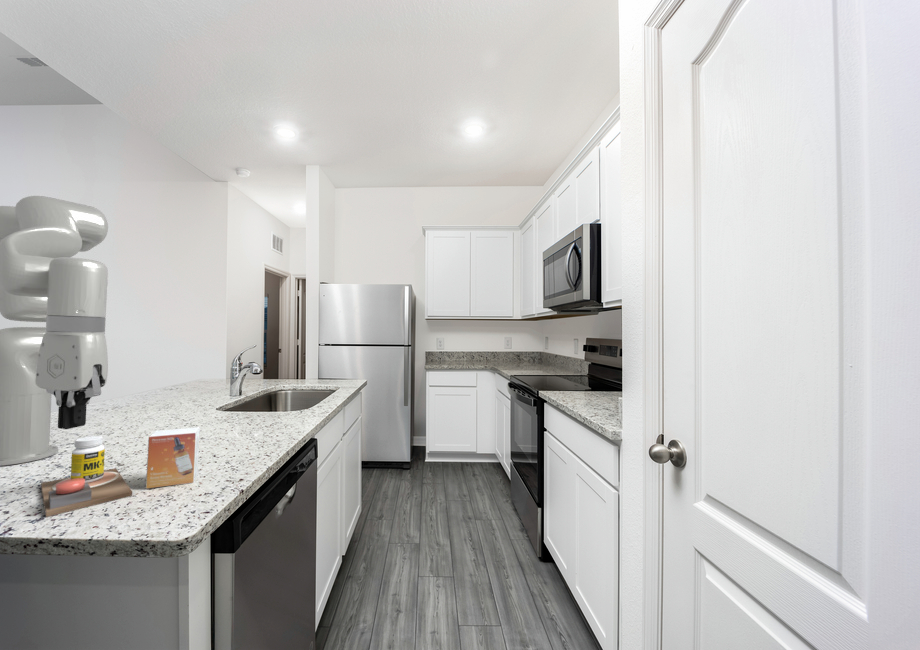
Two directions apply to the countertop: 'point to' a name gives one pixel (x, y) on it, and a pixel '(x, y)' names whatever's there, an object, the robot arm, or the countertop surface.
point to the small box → (172, 457)
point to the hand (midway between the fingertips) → (71, 426)
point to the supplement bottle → (88, 459)
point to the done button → (70, 486)
